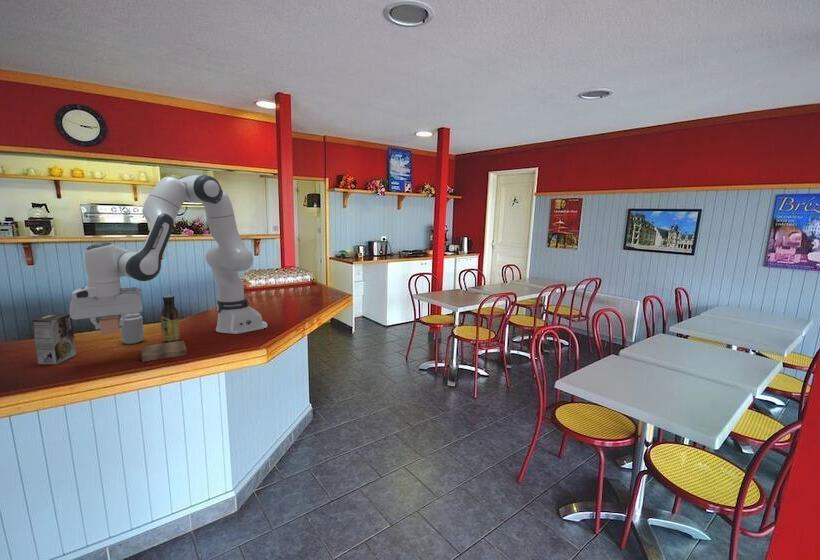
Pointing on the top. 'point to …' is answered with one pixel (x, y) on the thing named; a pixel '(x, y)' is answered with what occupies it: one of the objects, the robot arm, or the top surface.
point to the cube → (109, 325)
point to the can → (132, 329)
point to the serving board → (163, 351)
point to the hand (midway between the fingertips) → (110, 327)
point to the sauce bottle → (169, 320)
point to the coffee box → (54, 338)
